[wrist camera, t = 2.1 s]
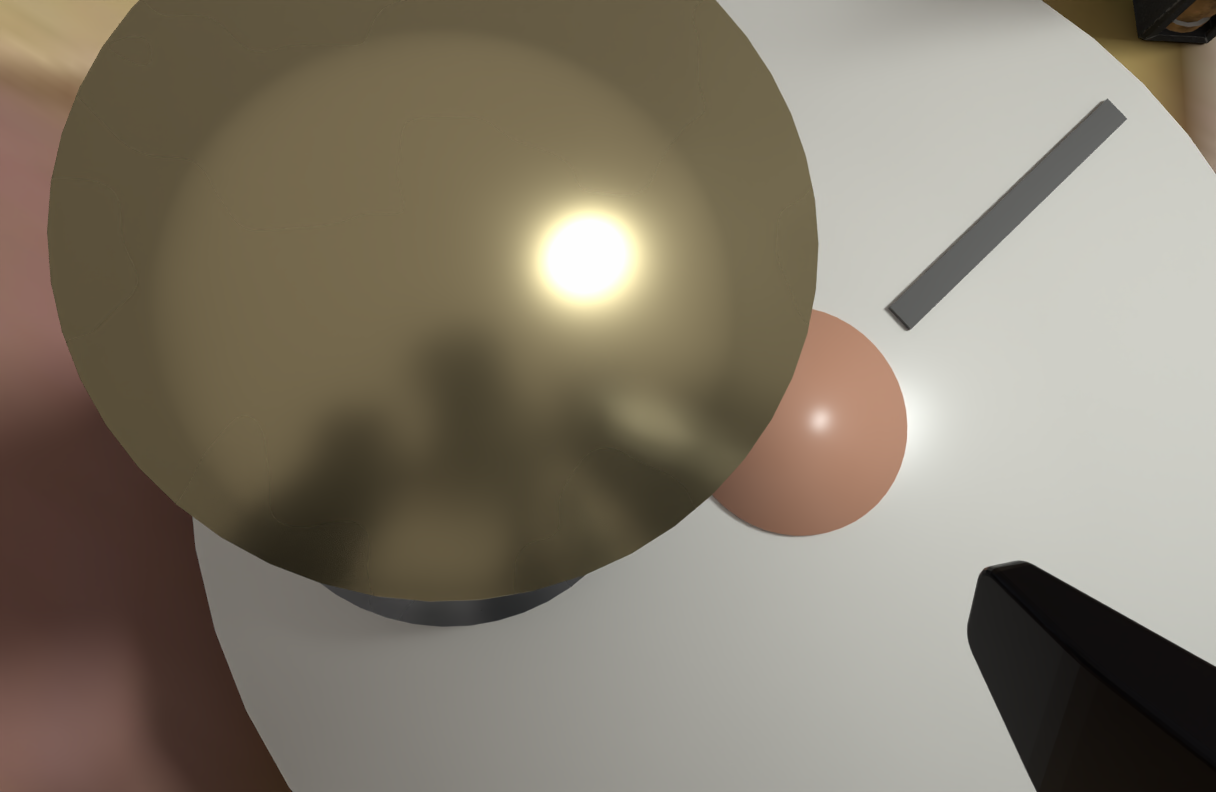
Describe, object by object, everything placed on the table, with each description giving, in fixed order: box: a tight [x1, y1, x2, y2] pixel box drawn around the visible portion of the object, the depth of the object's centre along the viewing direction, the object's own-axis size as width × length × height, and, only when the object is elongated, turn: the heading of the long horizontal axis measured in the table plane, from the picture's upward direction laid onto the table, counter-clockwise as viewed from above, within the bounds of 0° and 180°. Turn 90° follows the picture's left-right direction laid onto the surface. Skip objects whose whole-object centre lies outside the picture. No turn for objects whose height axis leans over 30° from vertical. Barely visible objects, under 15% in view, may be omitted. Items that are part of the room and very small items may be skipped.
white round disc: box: [192, 0, 1216, 792], centre depth 20 cm, size 22×22×1 cm
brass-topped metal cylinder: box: [47, 0, 819, 627], centre depth 14 cm, size 7×7×11 cm
